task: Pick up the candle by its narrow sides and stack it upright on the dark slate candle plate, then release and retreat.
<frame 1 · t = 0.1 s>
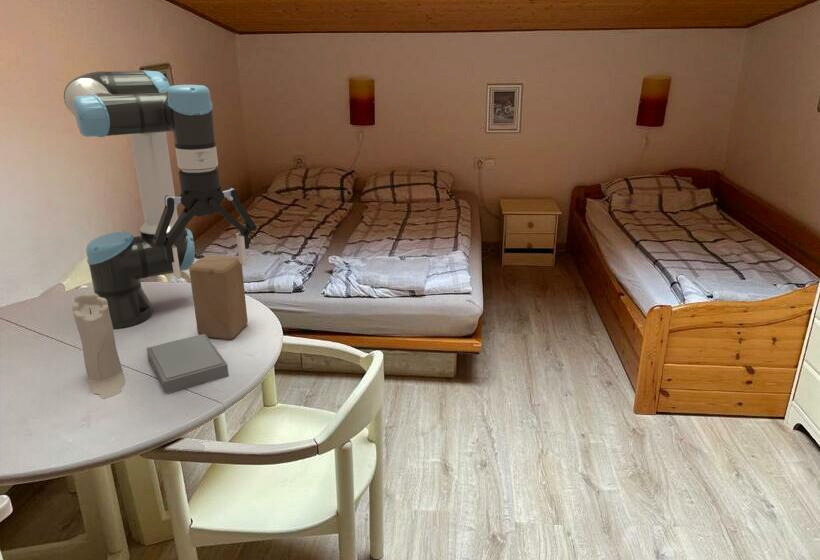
hand: (211, 269, 122), 28 cm above the table, fingers open, 13 cm apart
wooden block: (223, 331, 157), on the table
slate plate: (187, 366, 140), on the table
candle: (107, 382, 133), on the table
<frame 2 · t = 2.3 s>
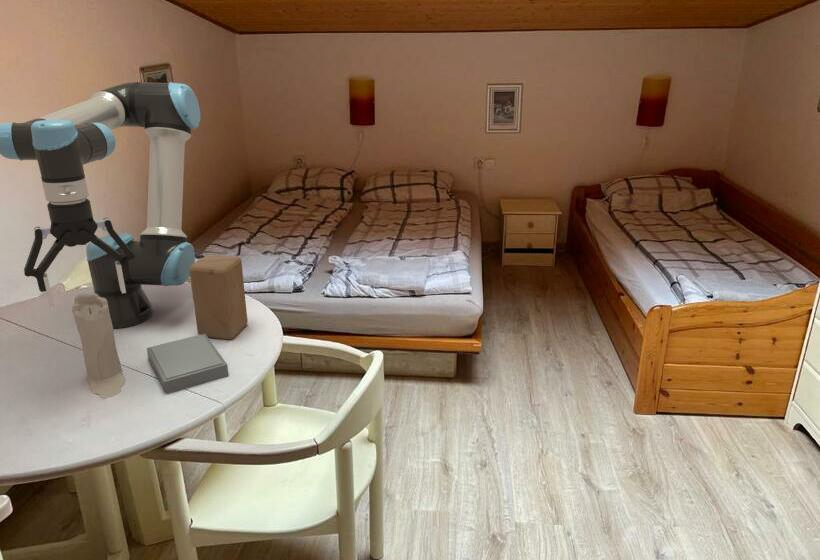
hand: (88, 297, 125), 21 cm above the table, fingers open, 13 cm apart
nothing on the table moved.
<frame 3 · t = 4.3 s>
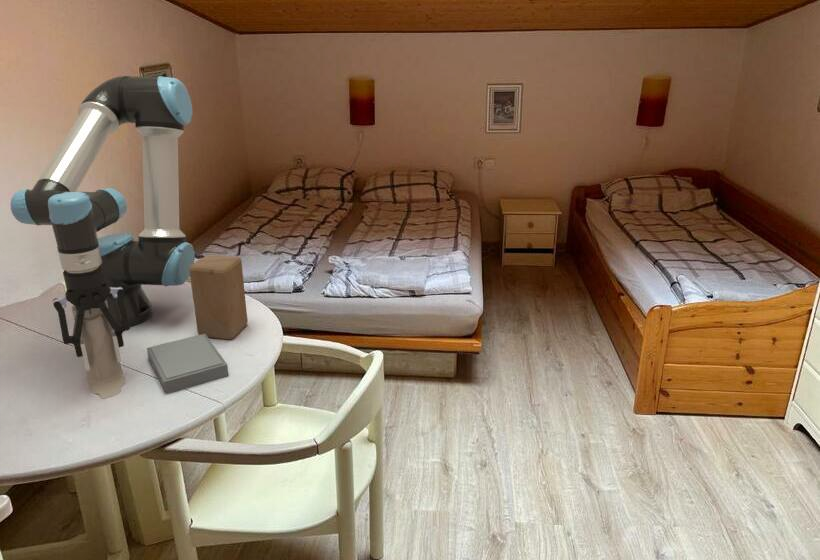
hand: (103, 363, 131), 5 cm above the table, fingers closed on candle, 6 cm apart
candle: (107, 382, 133), on the table, touching gripper
everything else where it was.
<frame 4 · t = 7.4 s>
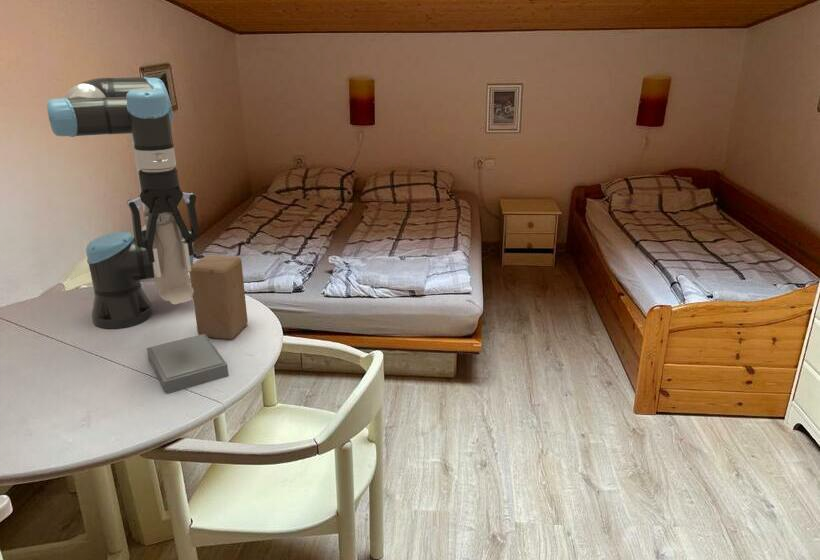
hand: (173, 271, 130), 24 cm above the table, fingers closed on candle, 6 cm apart
candle: (176, 292, 132), point 19 cm above the table, touching gripper
everything else where it was.
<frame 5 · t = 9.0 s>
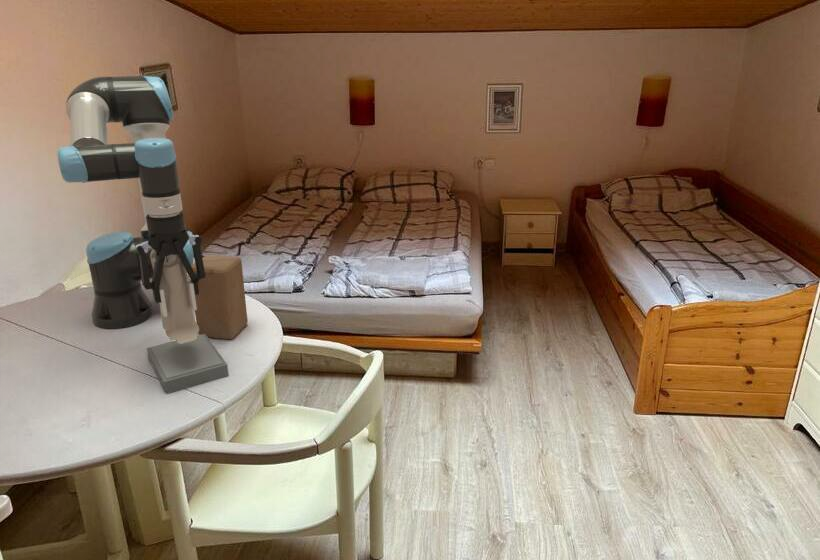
hand: (179, 311, 134), 15 cm above the table, fingers closed on candle, 6 cm apart
candle: (182, 330, 136), point 10 cm above the table, touching gripper
everything else where it was.
when the fingers open (9 cm above the table, at t = 10.5 s): candle stays where it is, resting on slate plate.
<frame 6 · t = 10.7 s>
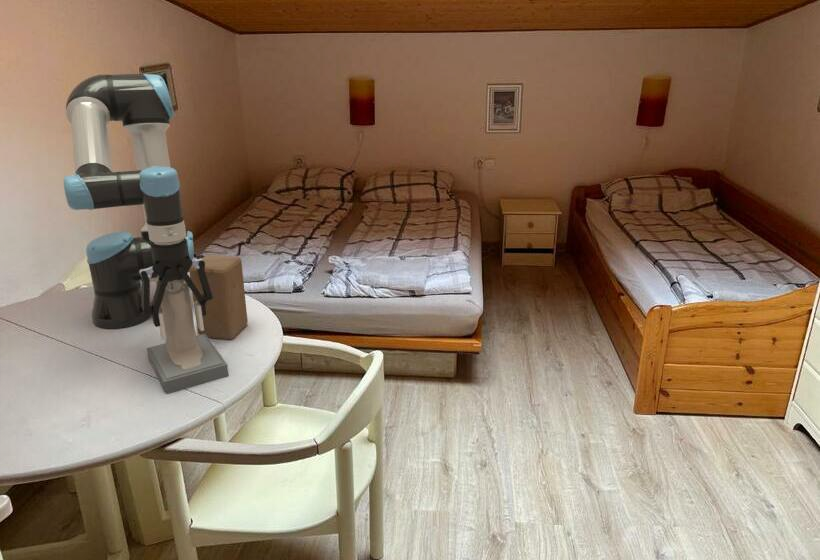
hand: (182, 332, 136), 9 cm above the table, fingers open, 8 cm apart
candle: (186, 355, 139), point 3 cm above the table, touching slate plate
everything else where it was.
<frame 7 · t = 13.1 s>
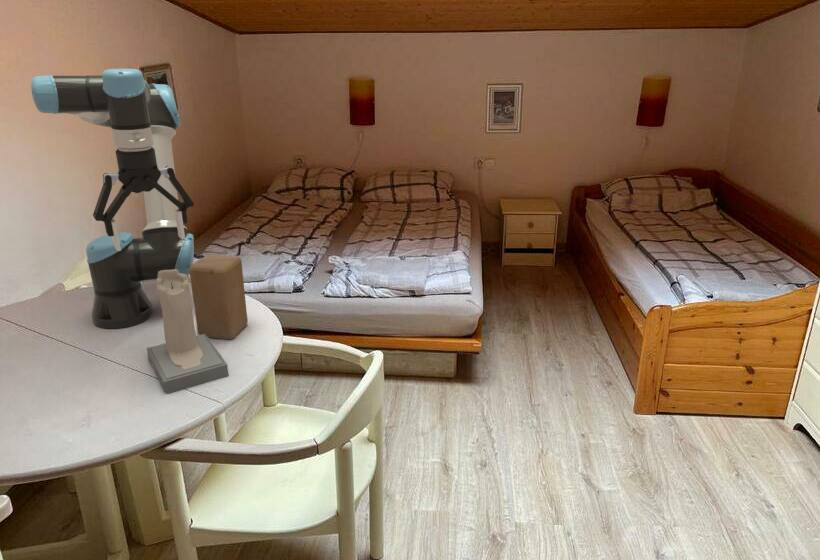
hand: (150, 243, 131), 30 cm above the table, fingers open, 13 cm apart
nothing on the table moved.
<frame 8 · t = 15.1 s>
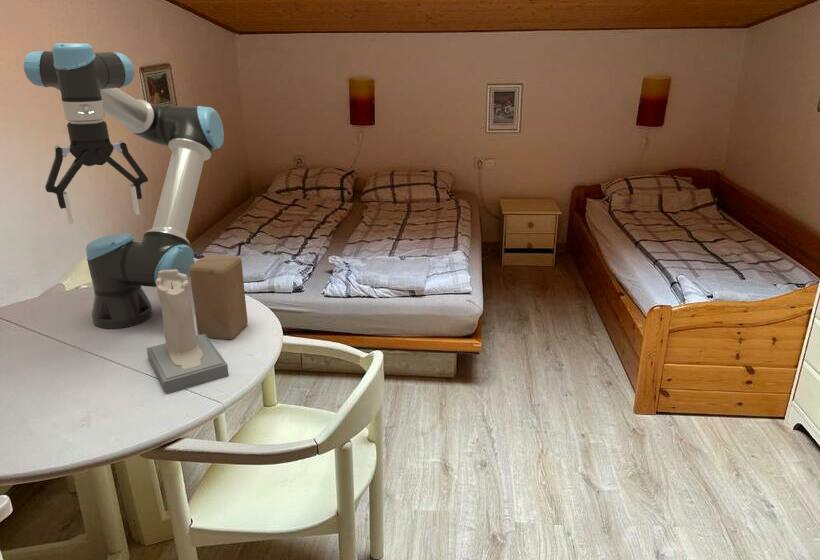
hand: (104, 217, 133), 35 cm above the table, fingers open, 13 cm apart
nothing on the table moved.
at the end: candle inside the target area on the slate plate (0.1 cm from its centre), point 3.1 cm above the slate plate's base; candle tilted 0°; the gripper is holding nothing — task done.
